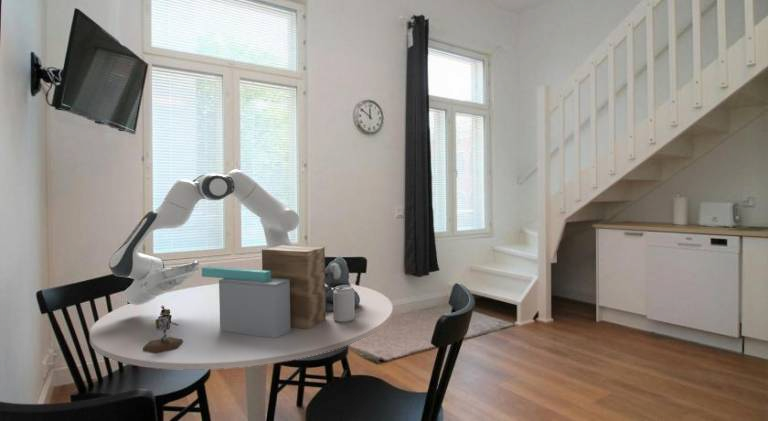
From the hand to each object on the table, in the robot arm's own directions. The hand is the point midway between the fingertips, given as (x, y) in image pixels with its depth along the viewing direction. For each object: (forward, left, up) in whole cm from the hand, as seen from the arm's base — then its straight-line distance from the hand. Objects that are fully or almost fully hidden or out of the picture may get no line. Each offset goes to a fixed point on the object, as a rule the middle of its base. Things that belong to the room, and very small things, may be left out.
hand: (187, 265), depth 147 cm
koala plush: (-35, +42, -20) cm, 58 cm away
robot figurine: (+21, +12, -20) cm, 32 cm away
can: (-20, +52, -20) cm, 59 cm away
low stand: (0, +29, -20) cm, 35 cm away
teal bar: (0, +21, -3) cm, 22 cm away
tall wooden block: (-13, +36, -20) cm, 43 cm away
